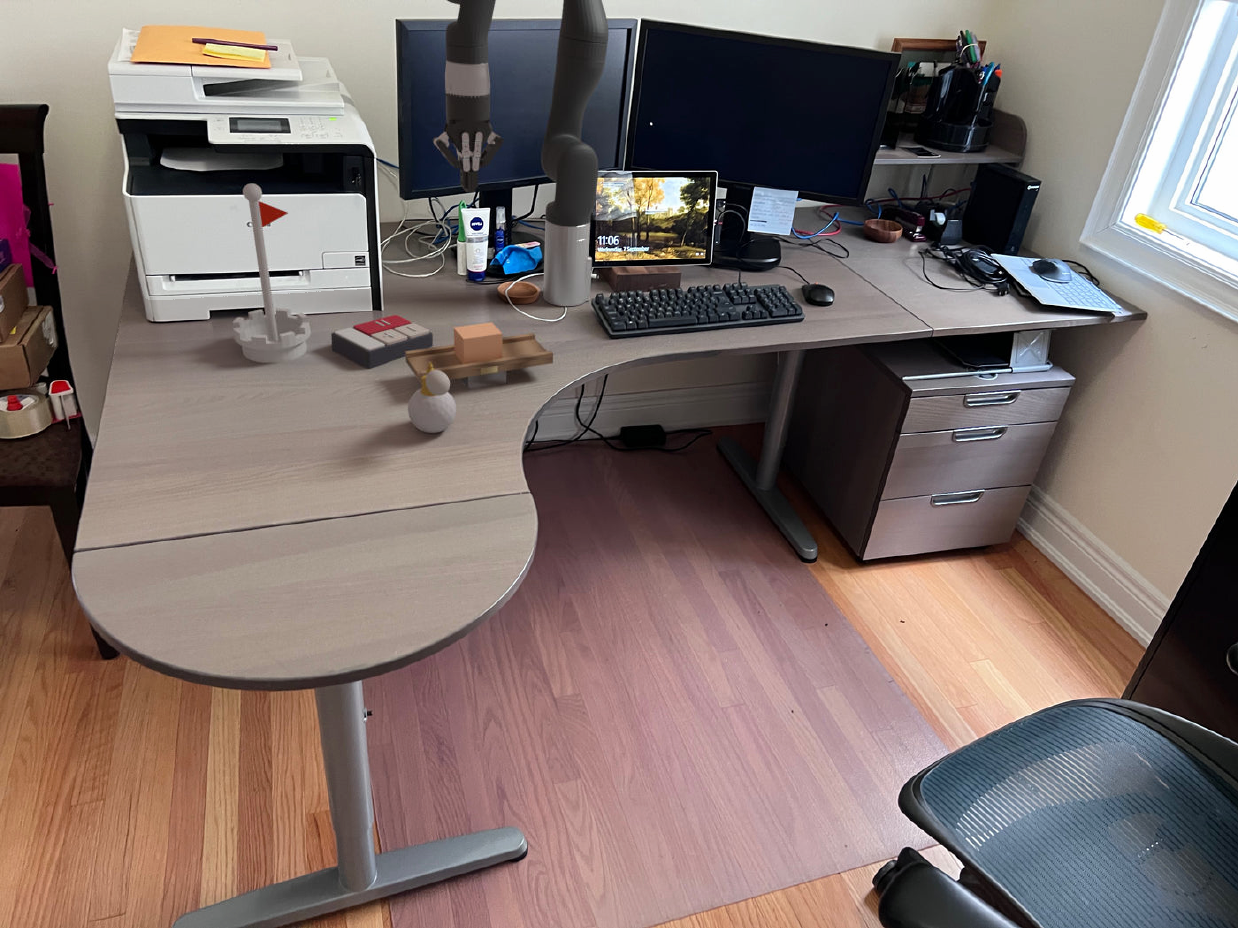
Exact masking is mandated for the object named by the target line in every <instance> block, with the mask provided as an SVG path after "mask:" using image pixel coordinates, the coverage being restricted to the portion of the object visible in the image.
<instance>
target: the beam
mask: <svg viewBox="0 0 1238 928" xmlns="http://www.w3.org/2000/svg"><path fill="white" fill-rule="evenodd" d="M405 355H406V356H405V363H406V364H407V366H408V367H409V368H410V370H411V371H412V373H413V374H414V375H415V377H416V378H417V380H418V381H419V382H420V384H421V385H422V377H423V376H425V375H427V372H426V370H427V368H428V364H429V362H431V364H432V365H433V367H432V368H434V370H439V371H442V372H443V373H445V374H446V375H447V377H448V378H449V380H450V381H452V380H458V379H459V380H460V381H461V382H462V383H463V385H464V386H465V387H466V388H467V390H473V389H480V388H484V387H485V388H486V387H490V386H497V385H502V384H503V385H504V384H507V371H513V370H518V369H519V370H520V369H526V368H530V367H531V368H532V367H537V366H543V365H545V366H546V365H550V364H553V361H554V352H553V351H552V350H546V349H545V347H543V346H542V344H541V343H540V342H539V341H538V340H536V334H534V332H531V333H525V334H518V335H510V336H505V337H503V336H502V358H500V359H494V360H487V361H481V362H474V363H468V364H462V362H461V361H460V360H459V359H458V358H457V356H456V355H455V353H454V344H449V345H448V344H447V345H441V346H434V347H433V346H432V347H429V348H426V349H419V350H412V351H405Z"/></svg>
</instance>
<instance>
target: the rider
mask: <svg viewBox="0 0 1238 928" xmlns="http://www.w3.org/2000/svg"><path fill="white" fill-rule="evenodd" d="M502 337H503V333H502V331H501V330H500V329H499V328H498V327H497V326H496V325H495V324H494V323H493V322H487V323H486V322H485V323H479V324H477V323H476V324H470V325H463V326H454V327H453V345H454V353H455V355H456V356H457V358H458V359H459V360H460V361H461V362H462V364H468V363H474V362H481V361H487V360H494V359H500V358H502Z"/></svg>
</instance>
